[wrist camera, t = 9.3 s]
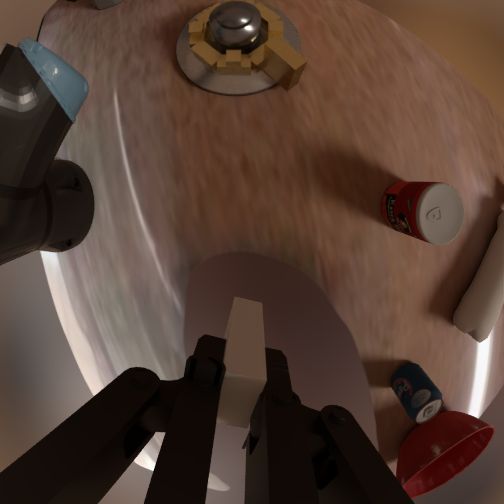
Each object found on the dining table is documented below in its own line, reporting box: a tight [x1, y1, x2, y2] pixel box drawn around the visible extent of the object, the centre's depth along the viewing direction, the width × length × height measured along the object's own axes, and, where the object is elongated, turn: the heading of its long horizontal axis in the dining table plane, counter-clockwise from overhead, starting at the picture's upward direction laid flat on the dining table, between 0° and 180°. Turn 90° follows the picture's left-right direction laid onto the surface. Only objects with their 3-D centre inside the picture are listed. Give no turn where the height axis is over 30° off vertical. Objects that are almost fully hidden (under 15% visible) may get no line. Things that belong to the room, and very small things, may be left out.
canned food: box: [381, 182, 464, 245], centre depth 32 cm, size 8×8×11 cm
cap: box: [176, 1, 300, 96], centre depth 28 cm, size 18×18×9 cm
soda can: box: [391, 363, 443, 423], centre depth 39 cm, size 7×7×12 cm
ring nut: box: [188, 0, 307, 92], centre depth 27 cm, size 12×17×8 cm
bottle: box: [453, 210, 504, 343], centre depth 35 cm, size 9×9×30 cm
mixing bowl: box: [396, 411, 495, 498], centre depth 43 cm, size 28×28×16 cm
